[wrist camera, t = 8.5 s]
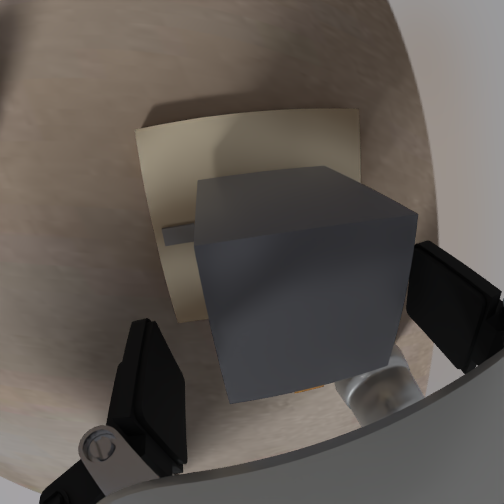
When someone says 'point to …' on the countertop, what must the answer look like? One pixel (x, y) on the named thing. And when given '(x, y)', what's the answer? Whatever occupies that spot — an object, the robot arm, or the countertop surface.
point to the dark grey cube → (300, 277)
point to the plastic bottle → (380, 390)
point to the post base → (229, 173)
